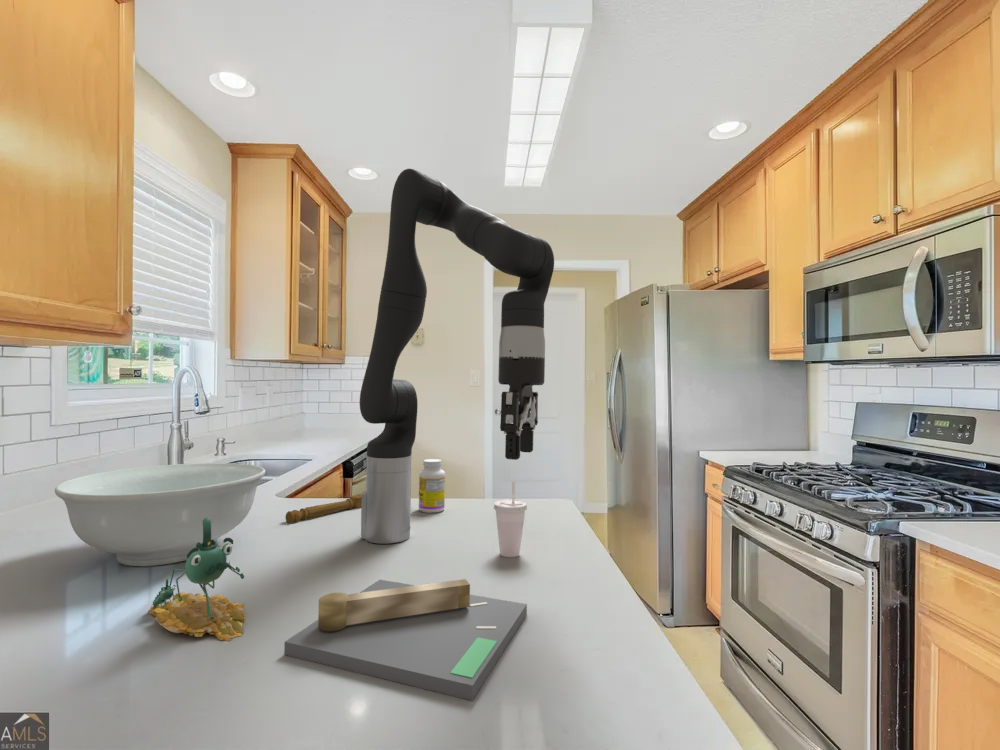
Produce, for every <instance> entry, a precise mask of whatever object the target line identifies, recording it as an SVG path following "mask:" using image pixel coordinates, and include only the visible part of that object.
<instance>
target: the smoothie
mask: <svg viewBox="0 0 1000 750" xmlns="http://www.w3.org/2000/svg"><path fill="white" fill-rule="evenodd" d="M511 482H512V483H511V499H500V500H496V501H495V502H494V503H493V510H495V518H496V527H497V536H498V537H497V538H498V546H499V547H498V548H499V555H500V556H501V557H503V558H516V557H519V556H520V554H521V553H520V551H521V544H522V537H523V529H524V523H525V514H526V511H527V510H528V505H527V502H525V501H522V500H519V499H516V498H515V497H516V480H512V481H511Z"/></svg>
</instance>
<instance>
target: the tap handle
mask: <svg viewBox="0 0 1000 750" xmlns="http://www.w3.org/2000/svg"><path fill="white" fill-rule="evenodd" d="M361 508H362V493H359V494H354V495H351V496H350V497H349V498H346V499H345V500H342V501H336V502H330V503H324V504H320V505H319V504H318V505H313V506H306V507H304V508H300V509H299V510H298V509H293V510H291V511H289V510H288V511H287V512H286V514H285V522H286V523H287V524H293V523H298V522H299V521H306V520H312V519H316V518H319V517H322V516H327V515H329V514H334V513H336V512H341V511H344V510H351V509H356V510H358V509H361Z"/></svg>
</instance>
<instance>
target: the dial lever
mask: <svg viewBox="0 0 1000 750" xmlns="http://www.w3.org/2000/svg"><path fill="white" fill-rule="evenodd" d="M470 595H471V584H470V583H469V581H468V580H467V579H466V578H463V579H455V580H448V581H441V582H439V581H438V582H432V583H426V584H416V585H415V586H408V587H400V588H393V589H385V590H377V591H370V592H362V593H360V592H357V593H348V594H347V593H345V592H331V593H326V594H324V595H322V596H320V597H319V599H318V611H317V612H318V619H317V620H318V628H319V629H320V630H322V631H337V630H340V629H343V628H344V627H346V626H347V625H352V624H358V623H365V622H371V621H378V620H385V619H391V618H398V617H404V616H411V615H417V614H424V613H431V612H437V611H444V610H450V609H457V608H463V607H470Z"/></svg>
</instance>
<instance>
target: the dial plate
mask: <svg viewBox="0 0 1000 750" xmlns="http://www.w3.org/2000/svg"><path fill="white" fill-rule="evenodd" d="M408 586H416V585H414V584H410V583H409V584H408V583H403V582H398V581H391V580H385V579H378V580H377V581H375V582H374V583H372V584H371V585H369V586H367V587H366V588H364V589H363V590H361V591H360V592H359V593H362V592H370V591H377V590H385V589H393V588H400V587H408ZM527 604H528V603H523V602H522V603H521V602H516V601H511V600H505V599H504V600H503V599H499V598H492V597H486V596H480V595H474V594H470V607H463V608H457V609H450V610H444V611H437V612H431V613H424V614H417V615H411V616H404V617H398V618H391V619H385V620H378V621H371V622H365V623H358V624H352V625H347V626H346V627H344V628H343V629H340V630H337V631H322V630H320V629H319V628H318V619H317V620H315V621H314V622H312V623H311V624H309V625H308V626H307V627H306V626H305V628H303V629H302V630H301V631H299V632H297V633H296V634H294V635H293V636H291V637H289V638H288V639H286V640H285V641H284V649H283V651H284V653H283V654H284V655H285V656H289V657H293V658H297V659H301V660H305V661H308V662H309V661H310V662H314V663H317V664H321V665H326V666H330V667H334V668H336V669H337V668H339V669H342V670H346V671H350V672H354V673H359V674H362V675H365V676H366V675H367V676H371V677H374V678H378V679H384V680H387V681H391V682H394V683H400V684H404V685H408V686H412V687H415V688H419V689H424V690H428V691H432V692H436V693H440V694H444V695H448V696H452V697H457V698H461V699H465V700H469V701H474V699H475V697H476V696H477V694H478V693H479V691H480V689H481V687H482V686H483V684H484V683H485V681H486V679H488V677H489V675H490V673H491V672H492V670H493V669H494V667H495V665H496V663H497V662H498V661H499V660H500V658H501V656H502V655H503V653H504V652H505V650H506V649H507V646H508V645H509V643H511V640H512V639H513V637H514V636H515V635H516V633H517V631H518V630H519V628H520V626H521V625H522V623H523V622H524V620H525V618H526V617H527V615H528V613H527V611H528V610H527V609H528V605H527Z"/></svg>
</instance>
